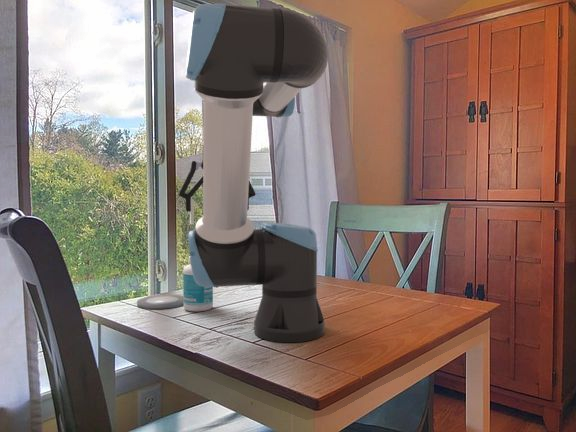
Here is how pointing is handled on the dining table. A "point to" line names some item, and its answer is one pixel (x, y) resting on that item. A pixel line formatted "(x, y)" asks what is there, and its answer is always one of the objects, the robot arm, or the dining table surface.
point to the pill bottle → (195, 292)
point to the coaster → (160, 302)
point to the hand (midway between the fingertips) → (217, 223)
